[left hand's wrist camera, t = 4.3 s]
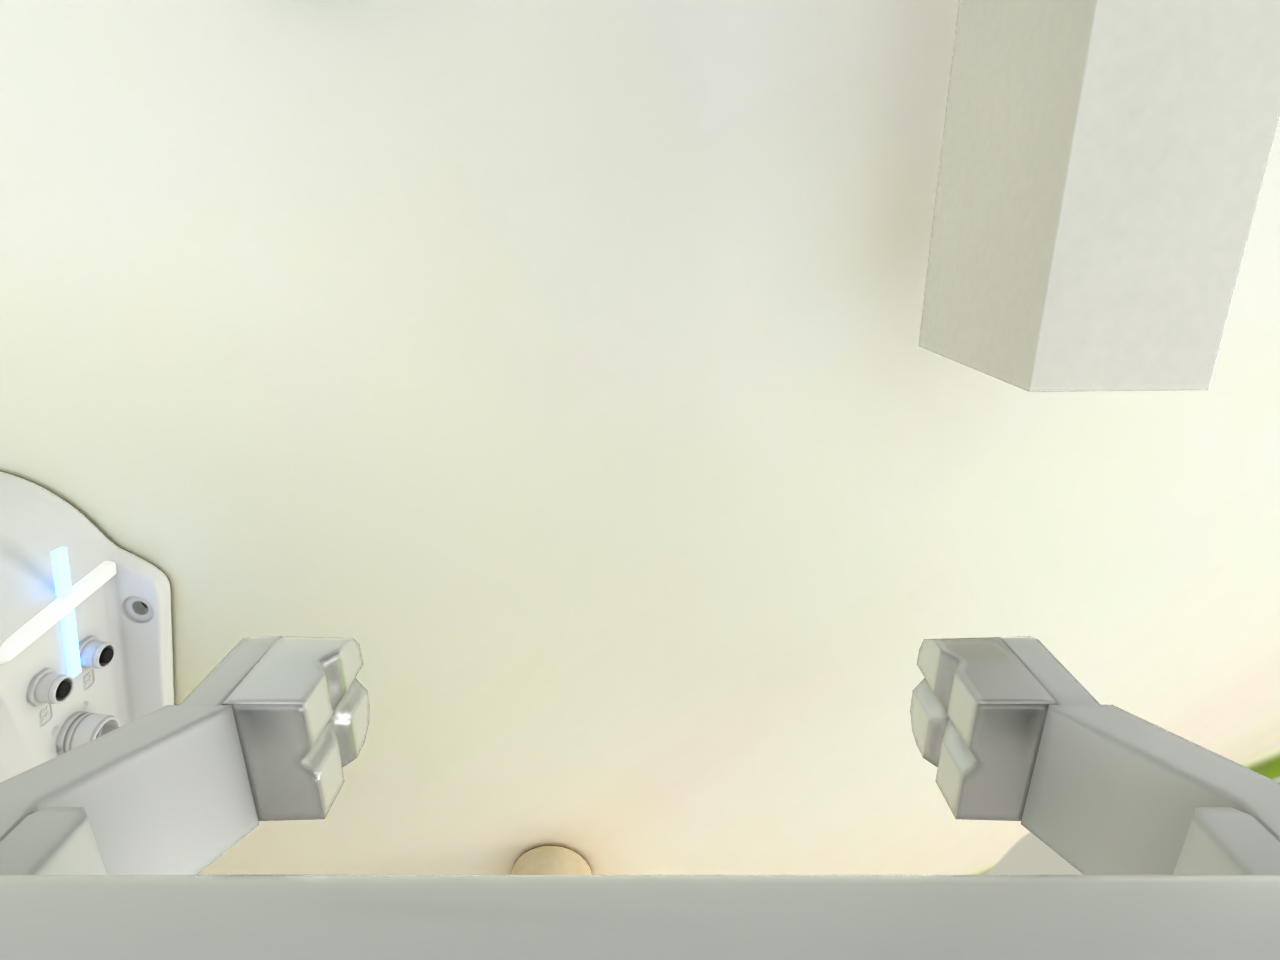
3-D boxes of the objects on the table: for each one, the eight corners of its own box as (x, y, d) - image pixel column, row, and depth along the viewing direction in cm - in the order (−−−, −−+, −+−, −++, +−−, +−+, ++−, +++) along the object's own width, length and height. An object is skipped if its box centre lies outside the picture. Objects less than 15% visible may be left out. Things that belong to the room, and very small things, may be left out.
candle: (501, 851, 47) (467, 1007, 38) (582, 837, 47) (568, 991, 37) (522, 912, 49) (495, 1076, 39) (601, 900, 49) (592, 1061, 39)
